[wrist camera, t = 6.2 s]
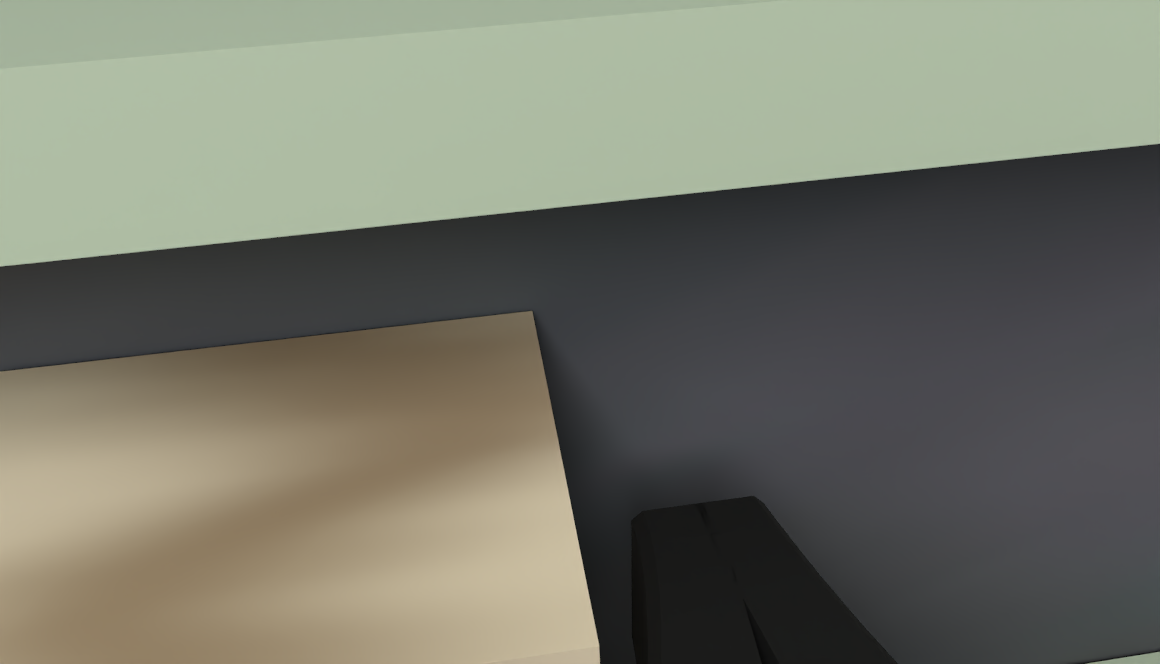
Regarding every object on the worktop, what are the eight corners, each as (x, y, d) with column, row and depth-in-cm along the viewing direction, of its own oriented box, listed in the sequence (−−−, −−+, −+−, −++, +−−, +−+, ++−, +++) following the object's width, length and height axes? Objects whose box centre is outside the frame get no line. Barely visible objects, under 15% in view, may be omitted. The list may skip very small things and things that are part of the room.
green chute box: (1840, -186, 9) (2262, -128, 7) (1305, 671, 16) (1435, 821, 14) (-827, 16, 7) (-1337, 183, 5) (-70, 899, 14) (-147, 1113, 12)
